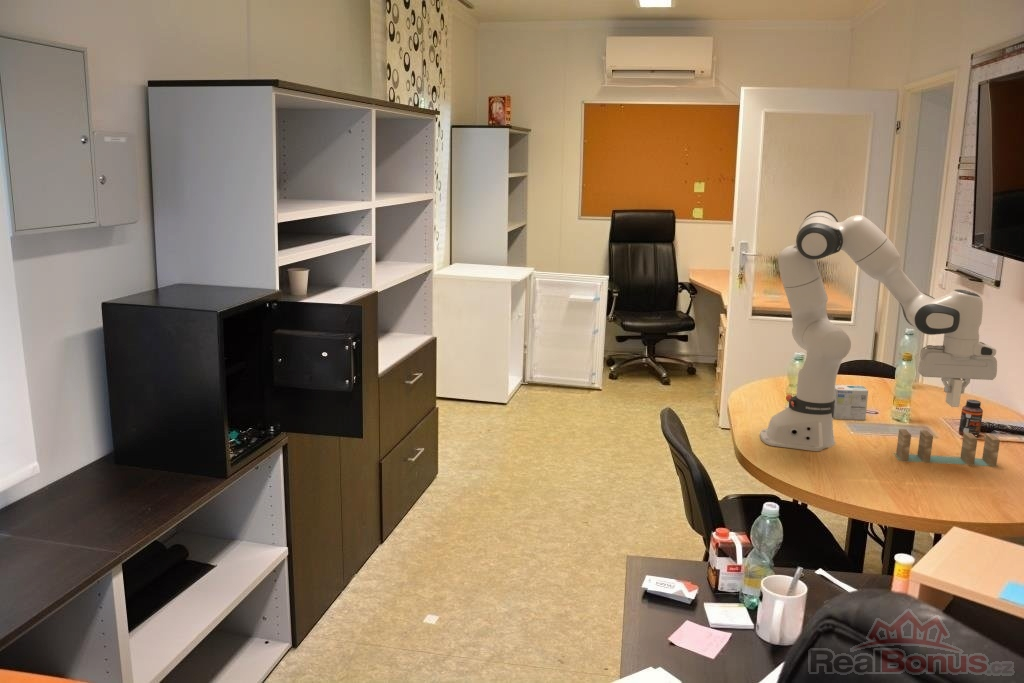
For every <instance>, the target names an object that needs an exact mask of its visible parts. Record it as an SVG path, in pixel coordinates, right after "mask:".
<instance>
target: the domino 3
mask: <svg viewBox="0 0 1024 683" xmlns="http://www.w3.org/2000/svg"><path fill="white" fill-rule="evenodd" d="M963 382H964V381H963V380H962V379H959V378H949V382H947V383H948V386H951V387H952V390H951V391H952V392H951V393H945V394H946V397H945V403H946V404H947V405H949V406H950V407H951V408H960V403H961V395H962V393H961V390H962V383H963Z"/></svg>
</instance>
